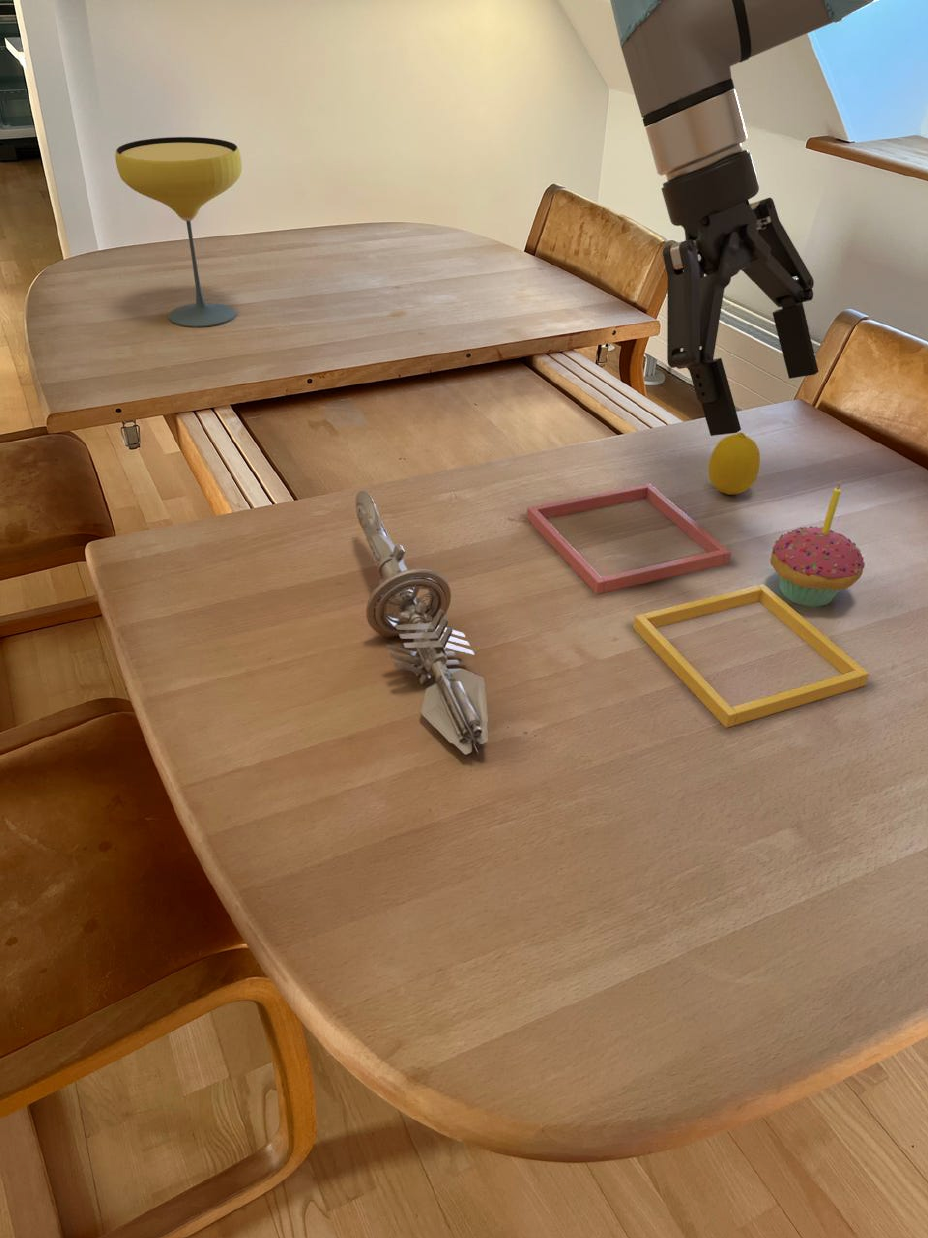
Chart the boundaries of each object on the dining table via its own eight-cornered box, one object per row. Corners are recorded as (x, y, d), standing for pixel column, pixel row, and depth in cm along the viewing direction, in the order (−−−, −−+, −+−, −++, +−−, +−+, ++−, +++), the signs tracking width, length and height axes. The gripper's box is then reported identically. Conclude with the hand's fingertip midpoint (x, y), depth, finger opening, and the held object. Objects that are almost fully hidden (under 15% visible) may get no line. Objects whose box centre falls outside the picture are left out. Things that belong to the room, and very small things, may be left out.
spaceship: (405, 469, 96) (334, 453, 91) (541, 714, 72) (453, 708, 68) (377, 531, 100) (308, 519, 96) (497, 783, 76) (411, 781, 72)
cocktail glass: (267, 298, 161) (251, 138, 146) (245, 337, 147) (223, 163, 131) (163, 295, 161) (135, 134, 146) (130, 333, 147) (95, 159, 132)
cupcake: (768, 565, 97) (795, 461, 90) (853, 585, 95) (889, 479, 88) (756, 610, 91) (784, 501, 84) (847, 632, 88) (884, 522, 81)
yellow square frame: (759, 600, 92) (763, 583, 91) (863, 691, 82) (869, 673, 80) (631, 632, 87) (634, 615, 86) (724, 733, 77) (729, 715, 76)
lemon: (698, 500, 108) (711, 437, 103) (709, 480, 112) (722, 418, 107) (746, 512, 106) (761, 448, 101) (756, 491, 110) (771, 428, 105)
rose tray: (647, 498, 108) (649, 483, 107) (727, 568, 97) (731, 552, 96) (526, 523, 103) (527, 507, 102) (595, 599, 92) (598, 582, 90)
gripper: (744, 142, 88) (798, 359, 95) (577, 218, 75) (654, 462, 82) (818, 113, 82) (869, 347, 89) (650, 190, 69) (726, 456, 76)
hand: (766, 403), depth 86 cm, fingers open, 13 cm apart
